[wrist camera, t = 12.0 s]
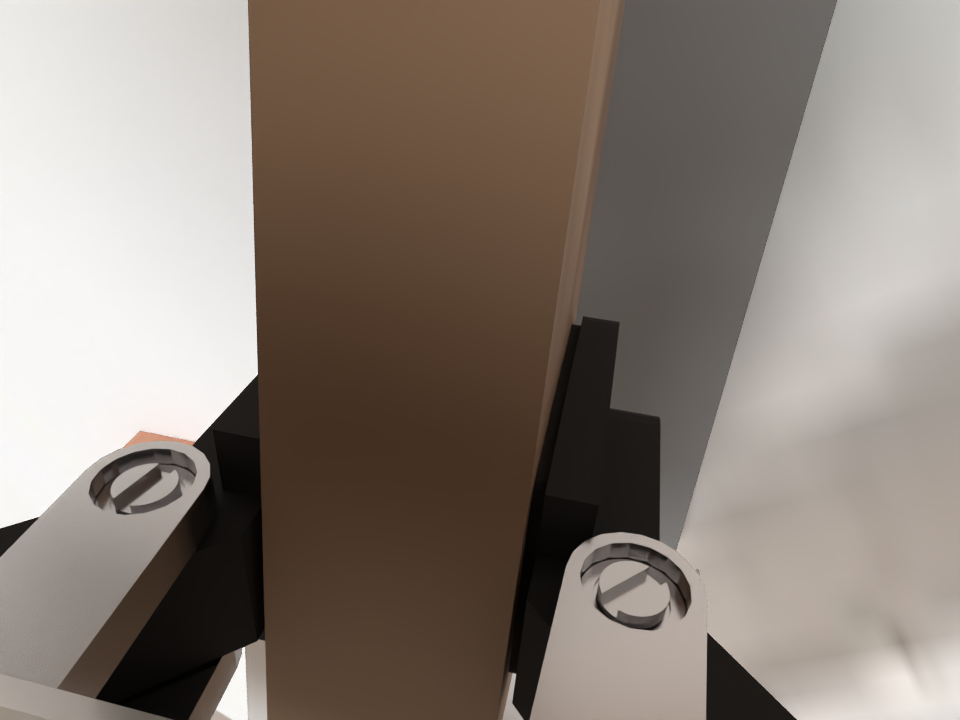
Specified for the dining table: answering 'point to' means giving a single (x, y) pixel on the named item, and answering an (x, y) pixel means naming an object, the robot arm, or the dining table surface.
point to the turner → (411, 333)
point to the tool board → (692, 203)
